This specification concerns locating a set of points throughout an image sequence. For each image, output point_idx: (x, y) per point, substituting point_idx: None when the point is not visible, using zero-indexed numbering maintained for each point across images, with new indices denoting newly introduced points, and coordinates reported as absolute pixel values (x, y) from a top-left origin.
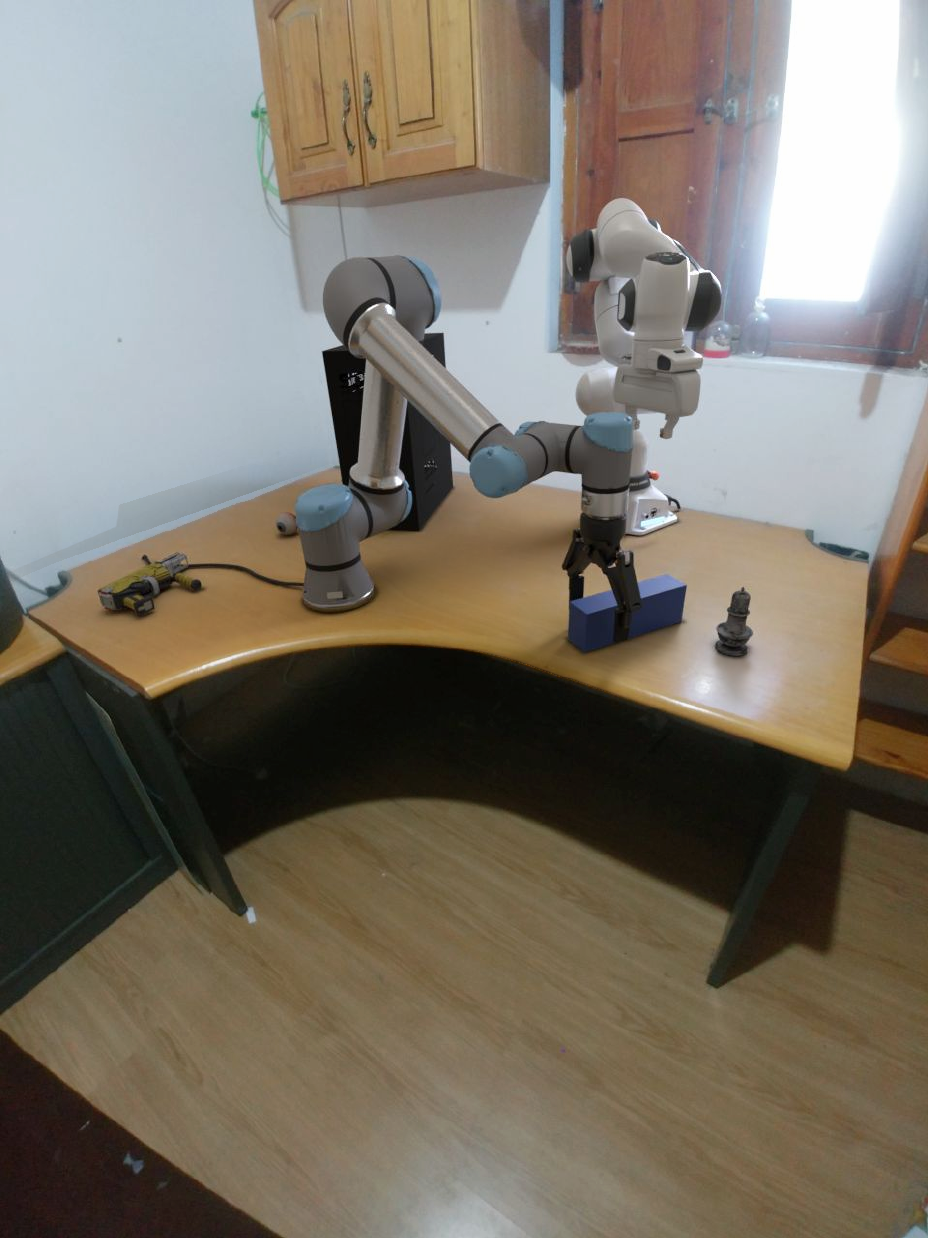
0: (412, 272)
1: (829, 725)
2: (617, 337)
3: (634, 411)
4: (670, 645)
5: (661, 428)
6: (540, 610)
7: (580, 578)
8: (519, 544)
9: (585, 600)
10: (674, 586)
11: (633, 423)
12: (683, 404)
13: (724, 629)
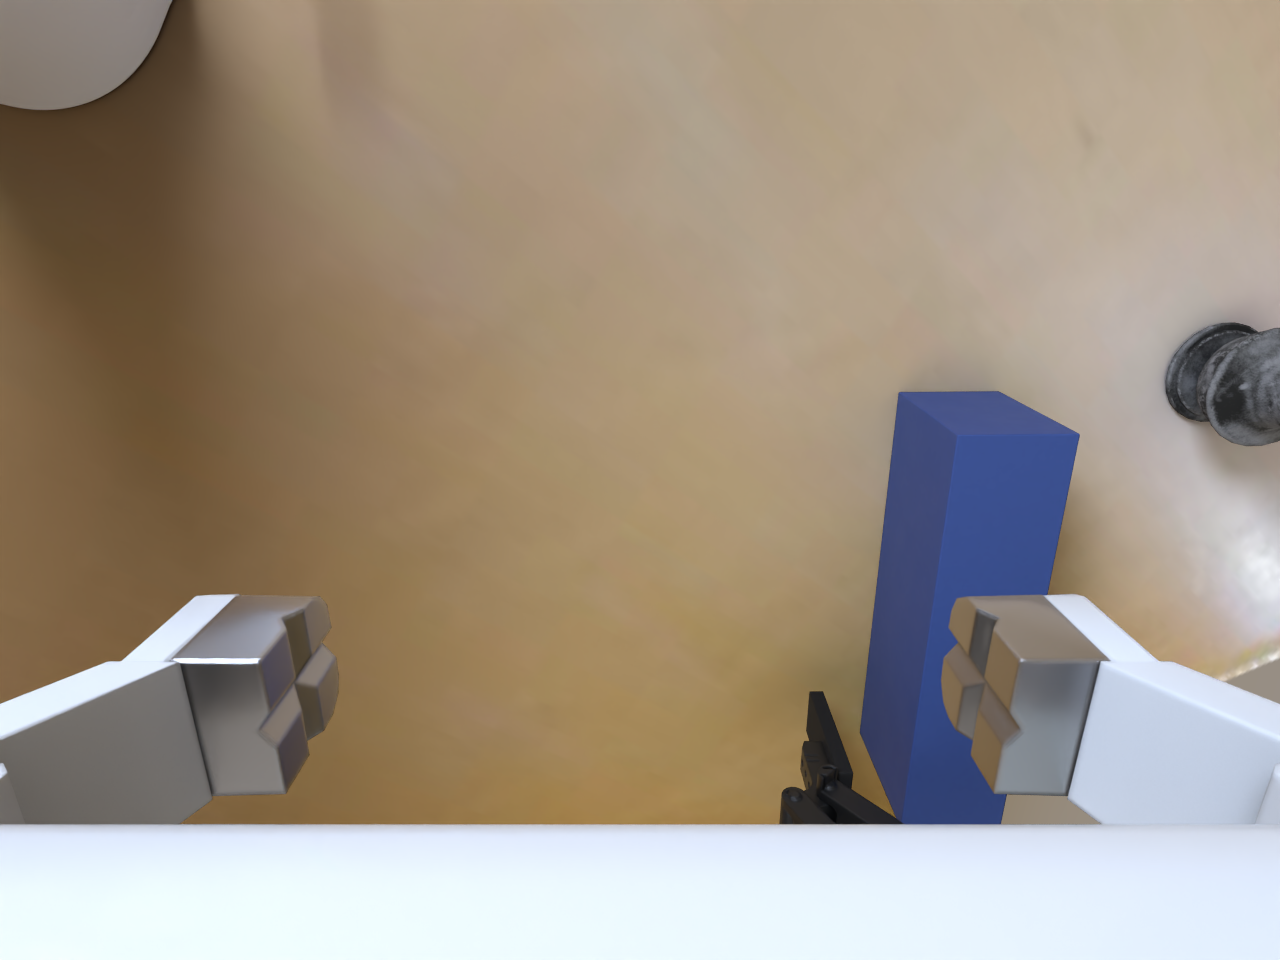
0: None
1: None
2: None
3: (10, 780)
4: (1073, 517)
5: (1012, 784)
6: (674, 718)
7: (851, 785)
8: (120, 536)
9: (927, 789)
10: (1055, 484)
11: (302, 754)
12: None
13: (1256, 430)
